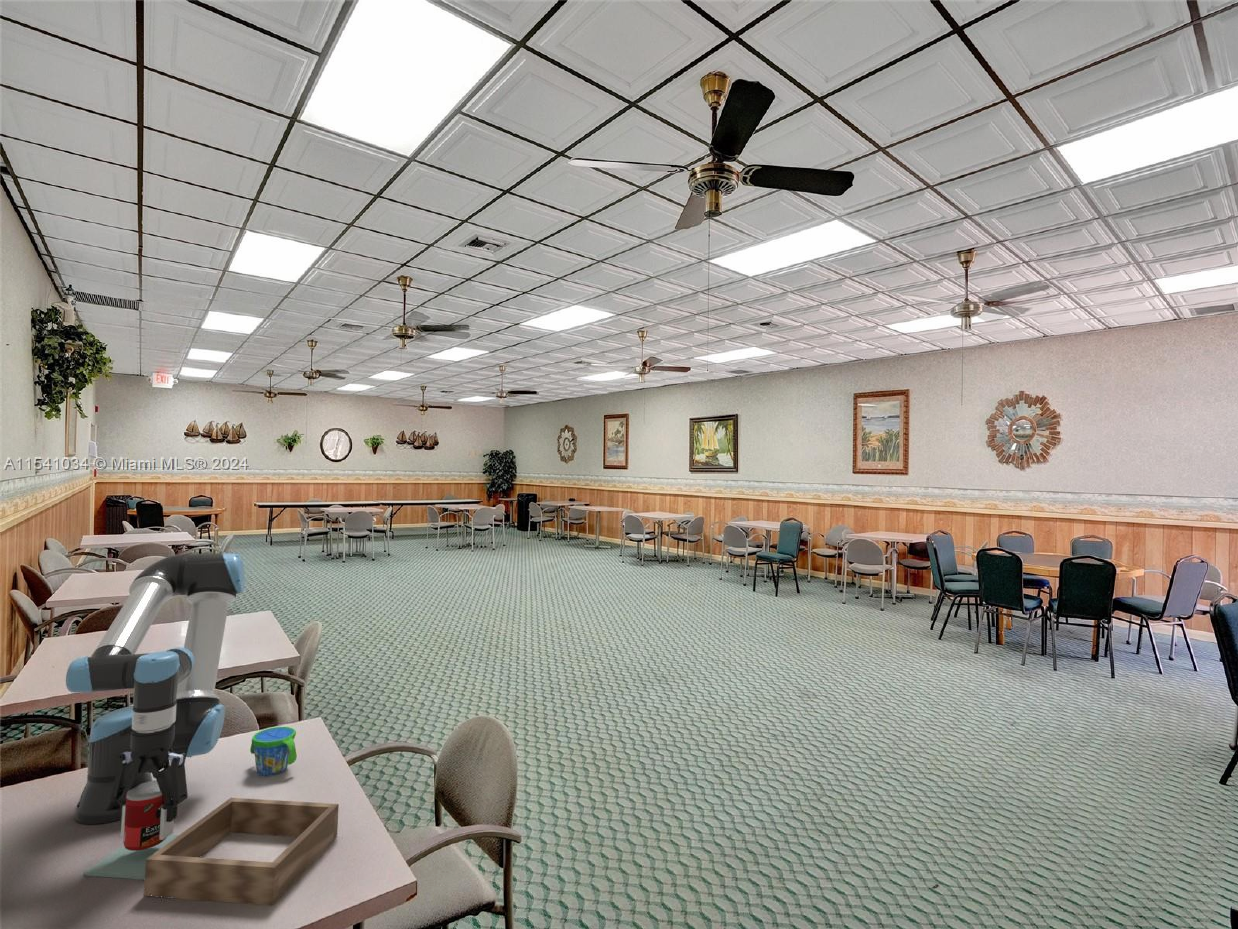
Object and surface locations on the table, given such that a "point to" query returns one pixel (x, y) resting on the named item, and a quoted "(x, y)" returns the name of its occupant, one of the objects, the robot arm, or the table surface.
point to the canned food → (143, 816)
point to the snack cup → (273, 750)
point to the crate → (240, 880)
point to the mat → (126, 862)
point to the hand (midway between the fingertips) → (147, 834)
